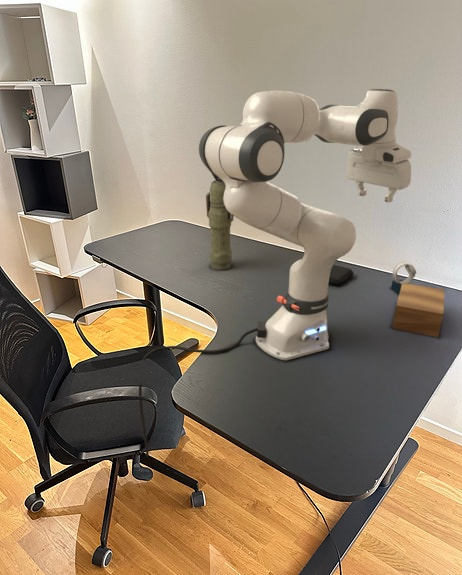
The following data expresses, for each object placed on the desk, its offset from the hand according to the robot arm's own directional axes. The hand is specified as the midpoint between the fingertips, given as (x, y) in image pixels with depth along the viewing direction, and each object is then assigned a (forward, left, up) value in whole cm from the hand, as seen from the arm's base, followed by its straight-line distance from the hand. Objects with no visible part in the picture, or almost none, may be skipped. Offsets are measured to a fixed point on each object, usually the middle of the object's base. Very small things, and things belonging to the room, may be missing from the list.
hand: (375, 198), depth 130 cm
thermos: (-16, +59, -38) cm, 72 cm away
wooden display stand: (+10, -15, -38) cm, 42 cm away
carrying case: (+13, +22, -38) cm, 46 cm away
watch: (+24, +1, -38) cm, 45 cm away
